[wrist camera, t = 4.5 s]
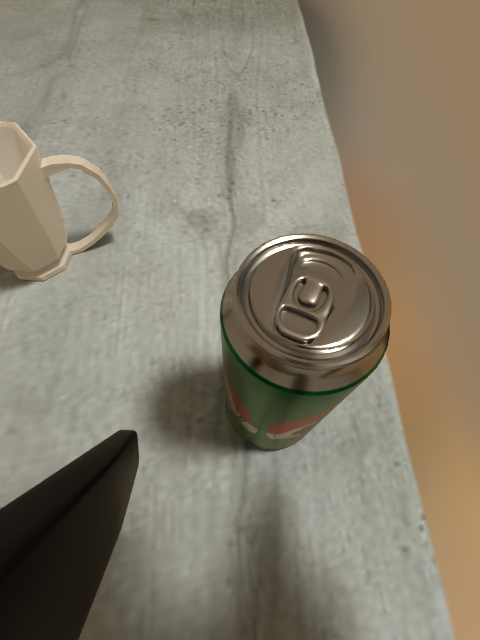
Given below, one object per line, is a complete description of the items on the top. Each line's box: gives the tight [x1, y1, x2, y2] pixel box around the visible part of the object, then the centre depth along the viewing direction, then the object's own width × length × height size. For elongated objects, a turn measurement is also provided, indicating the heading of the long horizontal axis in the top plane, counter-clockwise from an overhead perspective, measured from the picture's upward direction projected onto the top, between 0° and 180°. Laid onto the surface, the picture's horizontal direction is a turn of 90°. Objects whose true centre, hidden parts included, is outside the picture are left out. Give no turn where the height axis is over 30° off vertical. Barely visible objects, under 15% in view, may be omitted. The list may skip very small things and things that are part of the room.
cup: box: [0, 121, 118, 281], centre depth 21 cm, size 7×10×8 cm
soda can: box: [220, 234, 391, 450], centre depth 14 cm, size 5×5×12 cm
